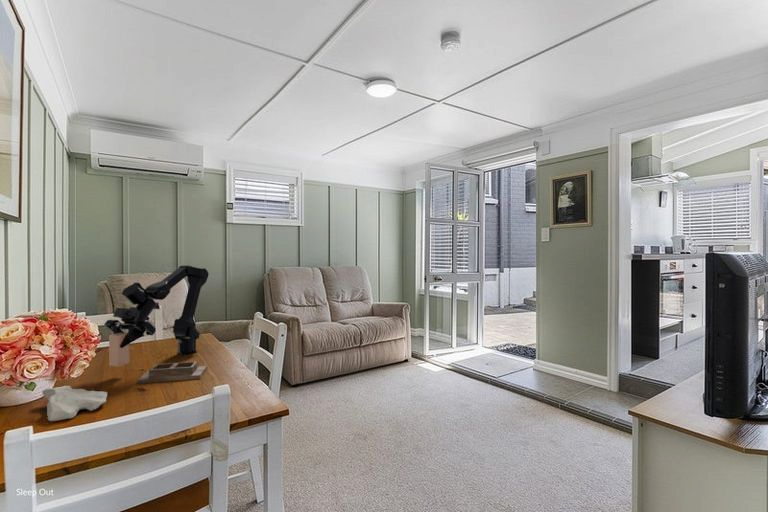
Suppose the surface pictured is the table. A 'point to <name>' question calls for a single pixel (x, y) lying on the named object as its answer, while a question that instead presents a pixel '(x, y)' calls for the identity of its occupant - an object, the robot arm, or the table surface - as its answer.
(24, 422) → the table surface
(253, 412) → the table surface
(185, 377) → the rack
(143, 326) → the robot arm
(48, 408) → the rock
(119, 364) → the clay block
